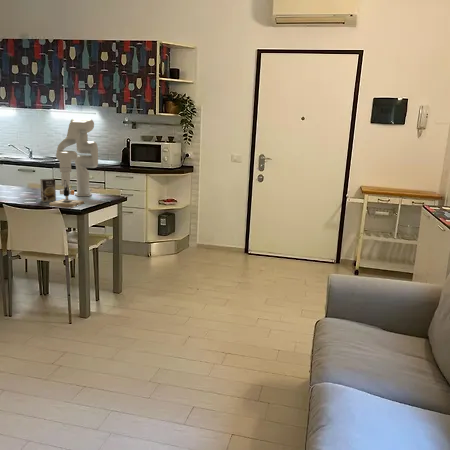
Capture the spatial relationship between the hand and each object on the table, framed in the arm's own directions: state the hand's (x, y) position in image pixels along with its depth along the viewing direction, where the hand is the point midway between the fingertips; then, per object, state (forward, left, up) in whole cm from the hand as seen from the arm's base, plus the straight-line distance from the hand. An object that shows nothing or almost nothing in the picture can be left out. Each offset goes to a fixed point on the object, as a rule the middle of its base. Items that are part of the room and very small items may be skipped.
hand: (66, 195), depth 333 cm
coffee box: (-5, -19, -7) cm, 21 cm away
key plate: (0, 0, -7) cm, 7 cm away
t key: (0, 0, -4) cm, 4 cm away
